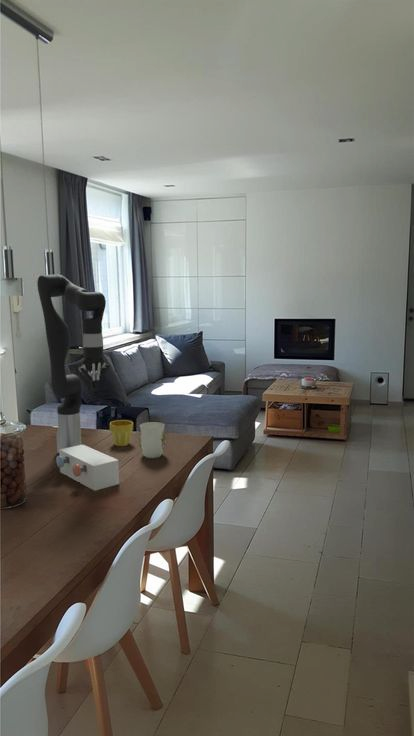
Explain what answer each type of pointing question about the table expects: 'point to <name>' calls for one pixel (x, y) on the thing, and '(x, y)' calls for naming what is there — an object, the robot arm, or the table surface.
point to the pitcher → (152, 439)
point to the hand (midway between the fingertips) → (94, 389)
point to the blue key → (61, 461)
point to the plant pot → (121, 432)
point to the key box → (91, 467)
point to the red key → (78, 469)
